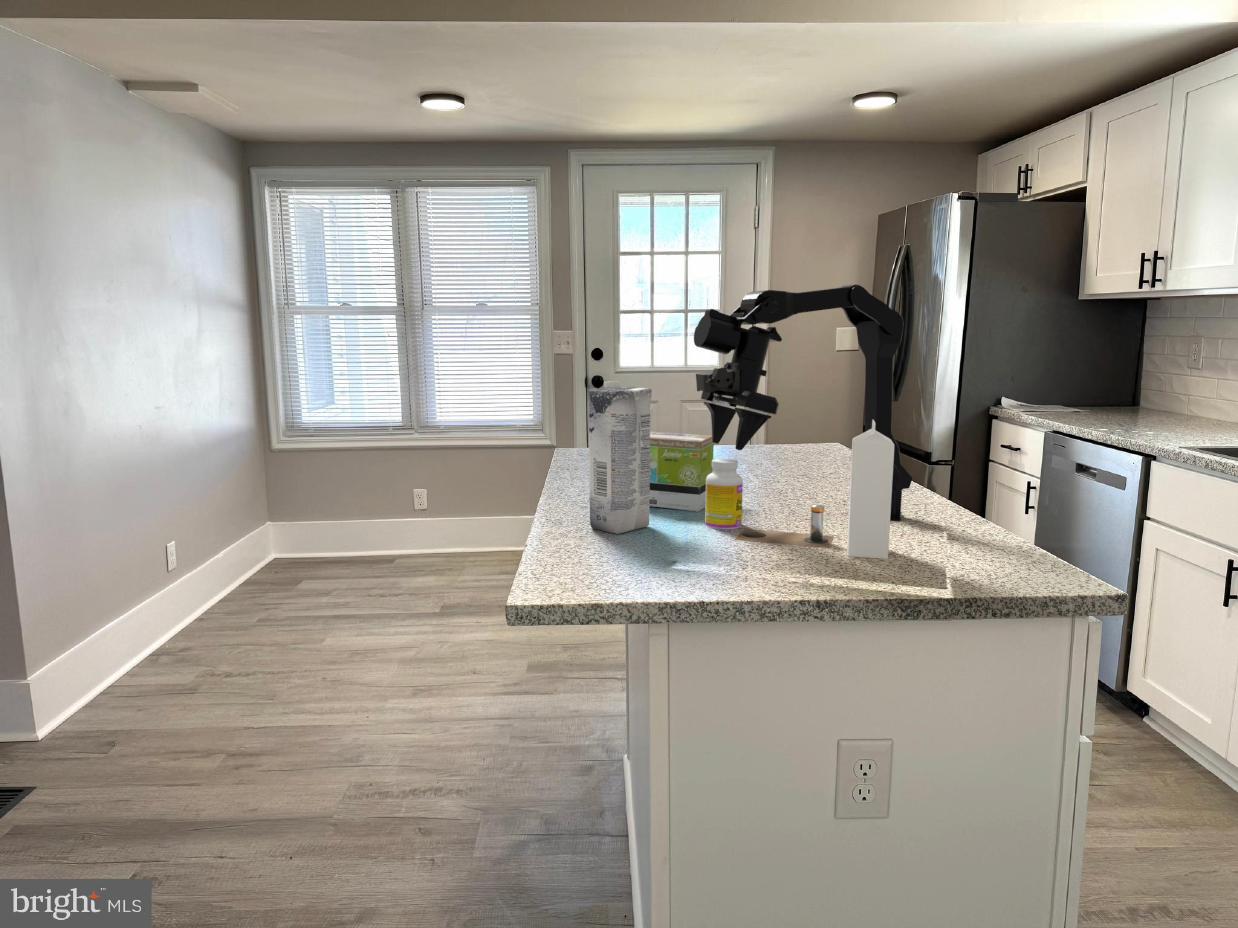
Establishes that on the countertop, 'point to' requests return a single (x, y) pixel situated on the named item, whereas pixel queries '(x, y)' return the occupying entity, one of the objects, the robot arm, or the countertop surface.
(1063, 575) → the countertop surface
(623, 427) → the juice carton
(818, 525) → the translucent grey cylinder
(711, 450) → the tea box
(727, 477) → the supplement bottle
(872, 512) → the milk
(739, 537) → the plate
